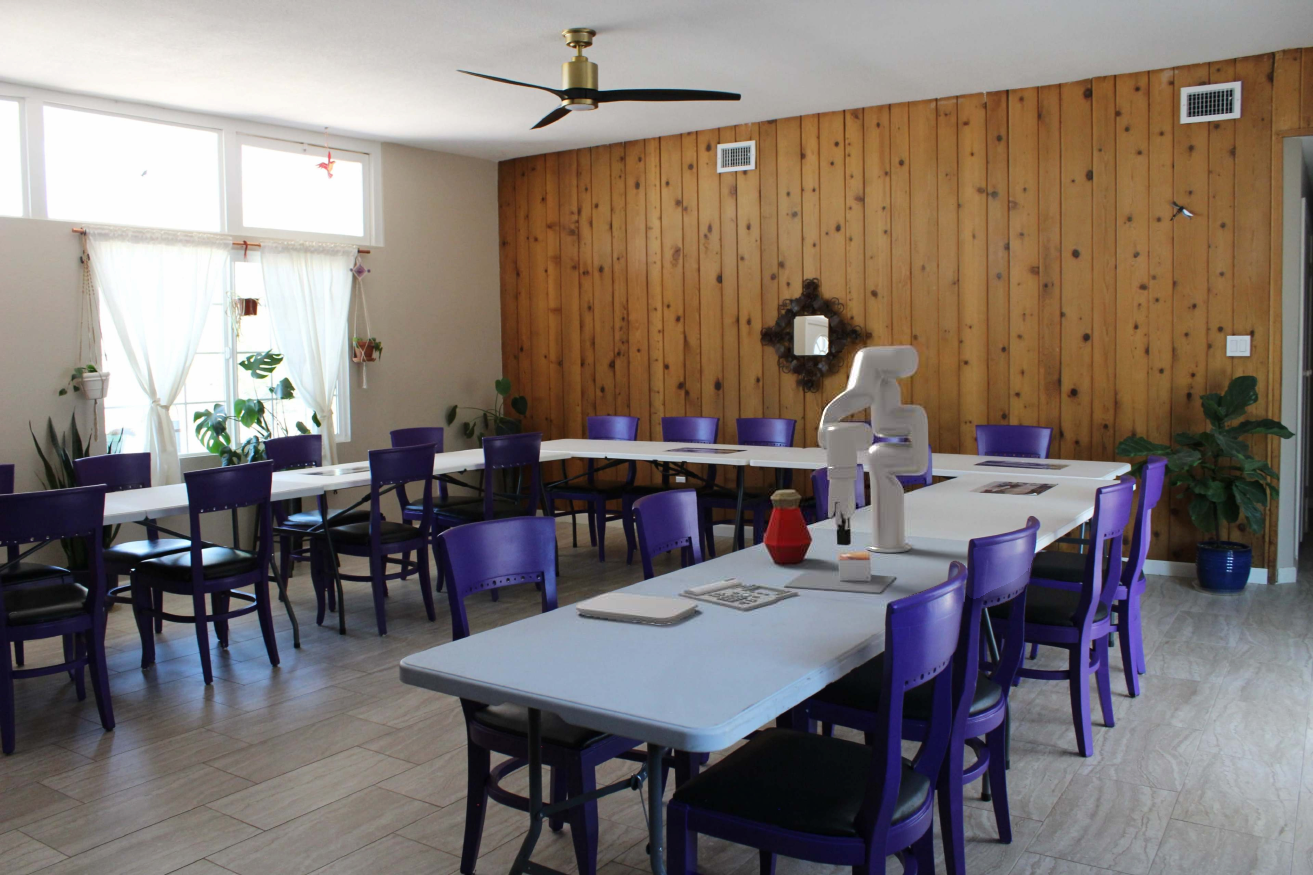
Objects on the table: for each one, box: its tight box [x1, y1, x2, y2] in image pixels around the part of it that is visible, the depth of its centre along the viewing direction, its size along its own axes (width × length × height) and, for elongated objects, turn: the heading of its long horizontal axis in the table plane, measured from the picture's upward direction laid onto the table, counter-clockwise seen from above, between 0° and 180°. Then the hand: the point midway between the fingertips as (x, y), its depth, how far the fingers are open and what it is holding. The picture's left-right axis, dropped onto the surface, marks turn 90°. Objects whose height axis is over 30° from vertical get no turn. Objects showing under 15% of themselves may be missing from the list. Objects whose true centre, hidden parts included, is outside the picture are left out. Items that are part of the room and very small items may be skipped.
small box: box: [838, 551, 872, 581], centre depth 253 cm, size 8×6×10 cm
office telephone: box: [677, 578, 799, 612], centre depth 239 cm, size 23×3×20 cm
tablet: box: [575, 592, 699, 625], centre depth 227 cm, size 16×26×2 cm, turn 59°
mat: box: [783, 570, 897, 595], centre depth 249 cm, size 18×24×1 cm
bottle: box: [762, 489, 813, 565], centre depth 277 cm, size 16×14×20 cm
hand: (843, 544), depth 252 cm, fingers closed
